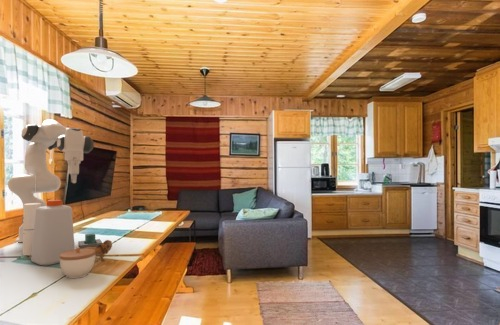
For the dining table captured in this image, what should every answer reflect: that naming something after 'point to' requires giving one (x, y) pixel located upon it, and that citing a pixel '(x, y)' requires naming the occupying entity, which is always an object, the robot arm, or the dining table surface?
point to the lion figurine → (102, 248)
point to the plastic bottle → (52, 232)
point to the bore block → (83, 245)
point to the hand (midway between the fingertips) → (73, 182)
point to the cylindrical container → (29, 226)
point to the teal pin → (89, 238)
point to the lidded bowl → (77, 262)
